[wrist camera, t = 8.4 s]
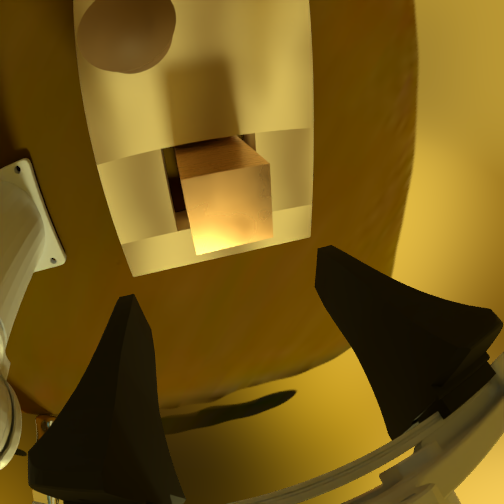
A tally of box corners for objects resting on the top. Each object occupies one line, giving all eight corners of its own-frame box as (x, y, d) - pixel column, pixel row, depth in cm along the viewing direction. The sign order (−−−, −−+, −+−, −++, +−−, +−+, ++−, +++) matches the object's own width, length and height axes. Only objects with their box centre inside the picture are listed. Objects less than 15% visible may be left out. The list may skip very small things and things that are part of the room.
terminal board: (134, 254, 19) (131, 323, 14) (84, -5, 9) (48, -40, 4) (295, 219, 22) (339, 272, 16) (287, -26, 11) (344, -58, 6)
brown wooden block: (182, 193, 18) (196, 255, 12) (173, 141, 16) (180, 180, 10) (236, 182, 19) (273, 237, 13) (230, 130, 17) (269, 163, 11)
